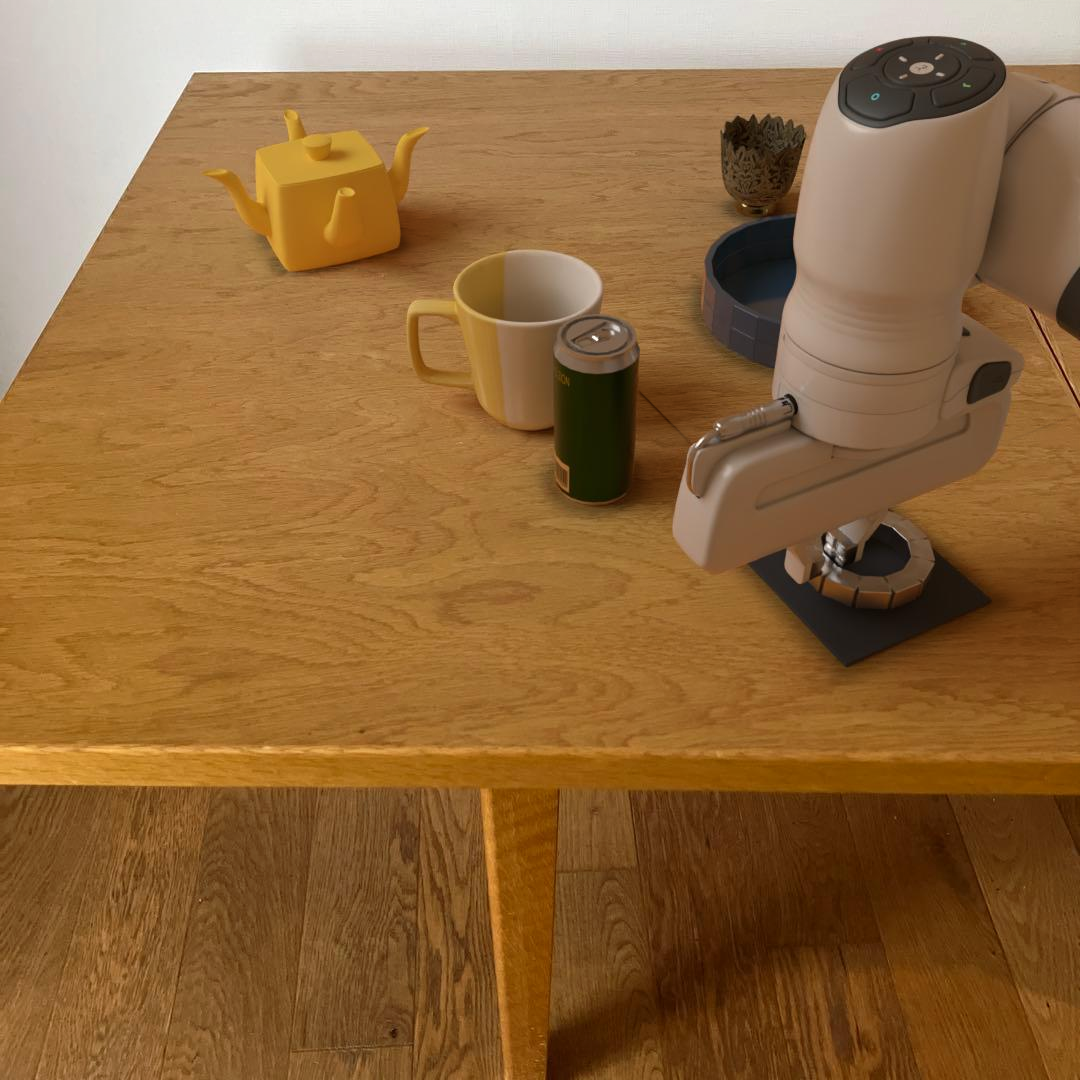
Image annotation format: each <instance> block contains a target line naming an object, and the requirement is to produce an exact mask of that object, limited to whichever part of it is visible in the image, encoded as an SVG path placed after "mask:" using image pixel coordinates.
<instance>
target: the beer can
mask: <svg viewBox="0 0 1080 1080" xmlns="http://www.w3.org/2000/svg"><path fill="white" fill-rule="evenodd" d="M637 339H638V336H637V332H636V329H635V327H634V326H632V324H630V323H629V322H628V321H626V320H624V319H622V318H621V317H617V316H614V315H610V314H602V313H600V314H591V315H583V316H579V317H575V318H572V319H571V320H569V321H567V322H565V323H564V324H563V325H562V326H561V327H560V328H559V330H558V333H557V340H556V342H555V345H554V348H553V379H554V426H553V446H554V447H553V461H554V463H553V464H554V466H553V469H554V475H553V476H554V481H555V485H556V487H557V488H558V490H559V491H560V493H561V494H562V495H563V496H564V497H565V498H567V499H568V500H570V501H572V502H575V503H578V504H580V505H586V506H605V505H608V504H611V503H614V502H617V501H619V500H621V499H622V498H623V497H625V496H626V495H627V493H628V492H629V490H630V489H631V487H632V486H633V482H634V478H635V463H636V462H635V459H636V442H637V441H636V439H637V418H638V417H637V416H638V398H639V396H638V395H639V379H640V377H639V375H640V358H641V357H640V355H641V348H640V345H639V343H638V340H637Z"/></svg>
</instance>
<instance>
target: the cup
mask: <svg viewBox="0 0 1080 1080" xmlns="http://www.w3.org/2000/svg"><path fill="white" fill-rule="evenodd" d="M723 126H724V129H723V130H722V129H720V132H719V134H720V162H721V164H720V166H721V175H722V182H723V184H724V188H725V190H726V192H727V194H728V195H729V196H730V197H731V198H732V199H733V200H735V201H734V209H735V211H736V213H738V214H739V215H741V216H743V217H747V218H752V219H753V218H754V219H755V218H758V219H761V218H765V217H770V216H771V215H772V214H773V213H774V211H775V210H776V203H778V202H780V201H781V200H782V199H784V198H785V197H786V195H788V193H789V192H790V190H791V188H792V186H793V185H794V182H795V178H796V176H797V173H798V169H799V165H800V161H801V157H802V153H803V149H804V145H805V141H806V139H807V132H805V127H804V124H803V123H801V124H799V125H797V126H796V127H795V123H794V121H793V118H790V119H788V120H787V121H786V122H785V123H784V120H783V118H782V117H781V116H780V115H776V116H774V117H772V116H771V114H770V113H767V114H766V115H765V116H764V117H763V118H762V119H760V121H758V119H757V117H756V115H755V114H754V113H752V114H751V116H750V117H749V120H747V119H746V118H745V117H741V116H740V115H736V116H734V117H733V119H732V120H731V121H729V120H726V121H725V122H724V125H723Z"/></svg>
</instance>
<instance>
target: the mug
mask: <svg viewBox="0 0 1080 1080" xmlns="http://www.w3.org/2000/svg"><path fill="white" fill-rule="evenodd" d="M452 290H453V291H452V293H453V298H454V300H444V299H443V300H441V299H428V298H427V299H426V298H421V299H416V300H414V301H412V302H411V304H410V305H409V306H408V309H407V312H406V322H405V323H406V324H405V329H406V330H405V331H406V332H405V333H406V336H405V337H406V345H407V352H408V356H409V362H410V365H411V368H412V371H413V373H414V375H415V376H416V378H417V379H418V380H419V381H421V382H422V383H423V382H424V383H425V384H429V385H435V386H442V387H449V388H457V389H464V390H469V391H474V392H475V393H476V397H477V400H478V402H479V404H480V406H481V408H482V409H484V411H485V412H486V413H487V414H488V415H489V416H491V417H492V418H493V419H494V420H496V421H497V422H498V423H500V424H501V425H503V426H506V427H507V428H511V429H514V430H519V431H526V432H527V431H529V432H533V431H543V430H547V429H550V428H552V427H553V428H554V379H553V348H554V345H555V342H556V340H557V333H558V330H559V328H560V327H561V326H562V325H563V324H564V323H565V322H567V321H569V320H571V319H572V318H575V317H579V316H583V315H591V314H601V310H602V303H603V299H604V294H605V293H604V292H605V288H604V282H603V280H602V277H601V276H600V273H598V271H597V270H595V268H594V267H592V266H591V265H590V264H588V263H587V262H585V261H584V260H581V259H579V258H578V257H575V256H572V255H569V254H567V253H561V252H557V251H553V250H552V251H551V250H545V249H531V248H530V249H513V250H508V251H503V252H498V253H495V254H491V255H488V256H485V257H483V258H480V259H478V260H476V261H474V262H472V263H470V264H469V265H467V266H466V267H465V268H463V269H462V270H461V272H459V274H458V275H457V276H456V278H455V280H454V282H453V287H452ZM425 316H427V317H428V316H429V317H442V318H445V319H448V320H450V321H452V322H454V324H457V325H458V326H459V327H460V329H461V334H462V338H463V341H464V342H463V343H464V346H465V350H466V351H465V352H466V355H467V359H468V362H469V363H468V364H469V367H470V371H453V370H452V371H451V370H443V369H442V370H441V369H435V368H431V367H430V366H428V365H426V363H425V362H424V359H423V356H422V352H421V349H420V339H419V336H420V335H419V319H420V318H419V317H425Z"/></svg>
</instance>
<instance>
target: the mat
mask: <svg viewBox="0 0 1080 1080" xmlns="http://www.w3.org/2000/svg"><path fill="white" fill-rule="evenodd" d="M888 511H890V512H892V510H891V509H890V508H889V509H888ZM826 542H827V541H826ZM826 542H825V543H824V545H825V544H826ZM824 545H823V551H824ZM931 548H932V551H933V555H934V559H935V561H934V567H933V571H932V574H931V577H930V580H929V581H928V583H927V585H926V586H925V588H924V590H923V591H922V593H921V595H920V596H919V597H917V598H916V599H915V600H913V601H910V602H908V603H905V604H903V605H900V606H898V607H895V608H892V609H891V608H890V607H889V606H888V608H887V609H867V608H856V607H855V604H854V603H853V605H852V606H851V607H850V606H847V605H845V604H842V603H840V602H838V601H835V600H833V599H831V598H828V597H826V596H823V595H822V591H820V592H817V591H816V590H815V589H814V588H813V587H812V585H811V584H810V583H809V582H808V581H807V582H805V583H803V584H798V583H797V582H796V581H795V580H794V579H793V578H792V577H791V576H790V575H789V574H788V573H787V571H786V569H785V565H784V564H785V558H786V552H787V549H786V548H785V549H783V550H780V551H778V552H775V553H772V554H770V555H767V556H765V557H762V558H760V559H757V560H755V561H752V562H749V563H747V564H746V565H748V566H749V567H750V569H752V571H753V572H755V574H756V575H757V576H758V577H759V578H760V579H761V580H762V581H763V582H764V583H765V585H767V586H768V587H769V588H770V589H771V590H772V591H773V593H774V594H775V595H776V596H777V597H778V598H779V599H780V600H781V601H782V602H783V603H784V604H785V605H786V606H787V608H788V609H789V610H791V612H792V613H793V614H794V615H795V616H796V617H797V618H798V619H799V620H800V621H801V622H802V623H803V624H804V625H805V626H806V627H807V628H808V630H809V631H810V632H811V633H812V634H813V635H814V636H815V637H816V638H817V639H818V640H819V641H820V642H821V643H822V644H823V645H824V646H825V648H826V649H827V650H828V651H829V652H830V653H831V654H832V655H833V656H834V657H835V658H836V659H837V660H838V662H839V663H840V664H842V665H843V667H844V668H847V667H850V666H852V665H854V664H857V663H859V662H861V661H863V660H865V659H868V658H870V657H872V656H875V655H877V654H880V653H881V652H884V651H886V650H889V649H890V648H893V647H895V646H897V645H899V644H902V643H904V642H906V641H909V640H911V639H912V638H915V637H918V636H920V635H923V634H924V633H927V632H928V631H931V630H933V629H935V628H938V627H941V626H942V625H945V624H948V623H949V622H951V621H953V620H954V621H955V620H956V619H958V618H960V617H963V616H965V615H967V614H970V613H972V612H974V611H976V610H979V609H981V608H983V607H985V606H988V605H990V604H991V603H992V601H993V600H992V599H991V598H990V597H989V596H988V595H987V594H985V593H984V591H982V590H981V589H980V588H979V587H978V586H977V585H976V584H974V583H973V582H972V581H971V580H970V579H969V578H967V577H966V576H965V575H964V574H963V573H962V572H961V571H959V570H958V569H957V568H956V567H955V566H953V564H951V562H949V561H948V560H947V559H946V558H945V557H944V556H943V555H941V553H939V552H938V551H937V550H935V548H934V547H932V546H931ZM824 553H825V552H824ZM833 562H834V561H833ZM904 567H905V564H904V560H903V557H902V556H901V555H900V554H899V553H898V552H896V551H895V550H894V549H893V548H892V547H891V546H890V545H889V544H888V543H886V542H883V541H880V540H878V539H875V538H873V537H870V538H869V539H868V540H867V541H865V545H864V549H863V553H862V558H861V559H860V560H859V561H857V562H854V563H852V564H849V565H846V566H844V567H841V568H843V569H845V570H847V571H850V572H852V573H855V574H857V575H860V576H875V577H885V576H888V575H891V574H893V573H896V572H898V571H901V570H903V569H904Z"/></svg>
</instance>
